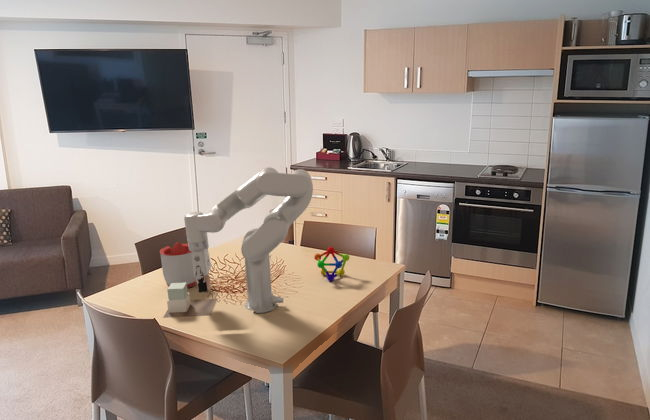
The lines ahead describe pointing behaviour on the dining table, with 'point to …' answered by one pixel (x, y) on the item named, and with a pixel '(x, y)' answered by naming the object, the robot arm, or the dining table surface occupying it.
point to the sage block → (177, 291)
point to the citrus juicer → (178, 265)
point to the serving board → (196, 309)
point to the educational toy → (337, 264)
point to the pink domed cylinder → (207, 280)
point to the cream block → (179, 305)
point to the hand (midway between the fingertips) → (204, 288)
